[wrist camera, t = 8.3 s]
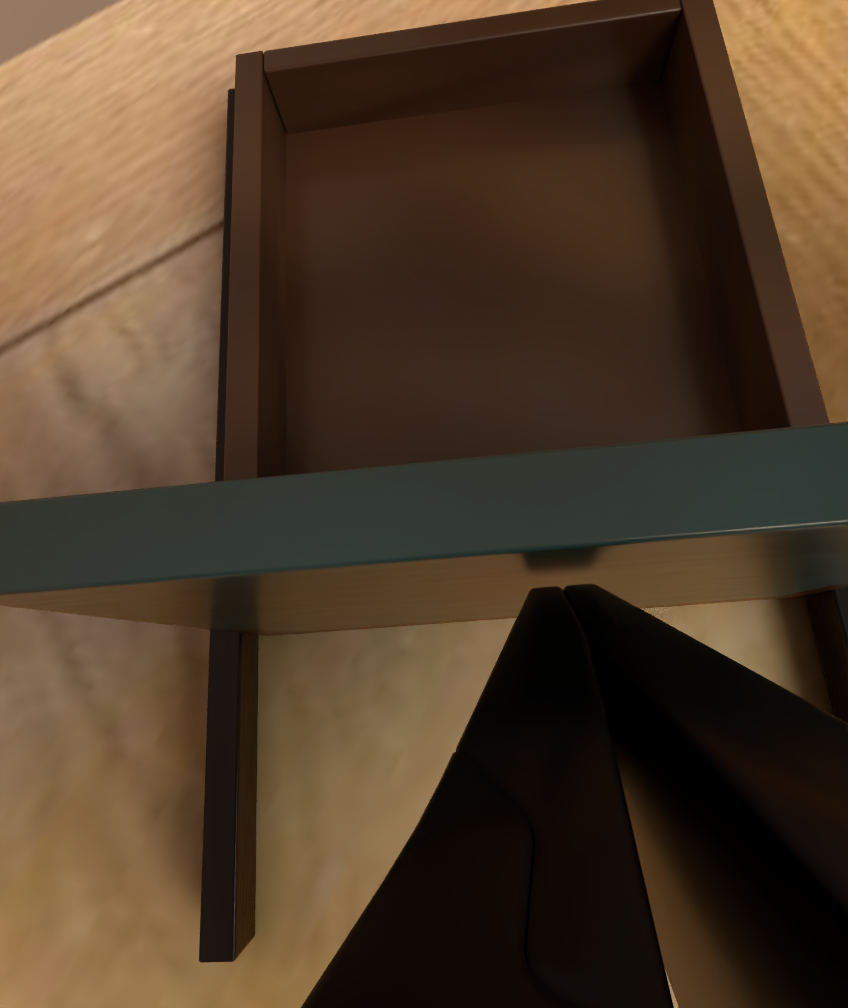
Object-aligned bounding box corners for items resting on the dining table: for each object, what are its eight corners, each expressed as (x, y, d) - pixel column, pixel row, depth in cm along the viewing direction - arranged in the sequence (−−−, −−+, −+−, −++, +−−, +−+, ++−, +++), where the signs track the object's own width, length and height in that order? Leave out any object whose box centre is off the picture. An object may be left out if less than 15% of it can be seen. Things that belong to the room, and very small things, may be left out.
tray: (797, 596, 14) (1377, 482, 5) (266, 635, 15) (-63, 600, 6) (674, 83, 18) (861, -478, 9) (270, 139, 19) (84, -316, 10)
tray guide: (920, 914, 12) (967, 941, 11) (222, 937, 13) (198, 964, 12) (699, 56, 18) (713, 16, 17) (242, 122, 20) (227, 88, 18)
